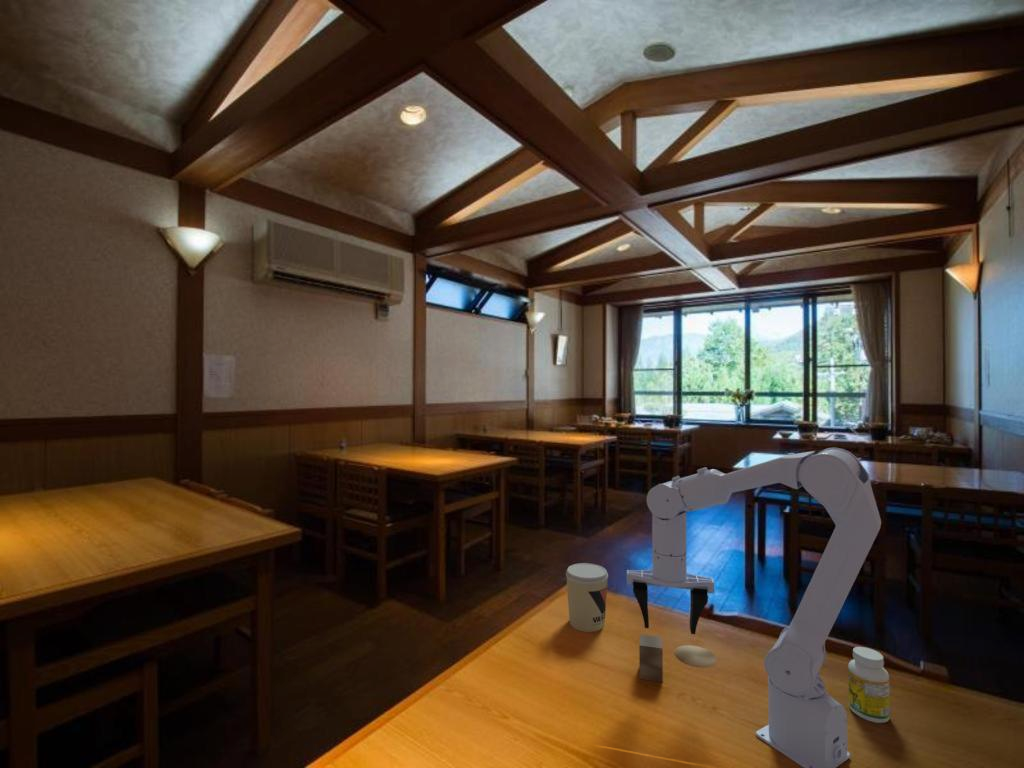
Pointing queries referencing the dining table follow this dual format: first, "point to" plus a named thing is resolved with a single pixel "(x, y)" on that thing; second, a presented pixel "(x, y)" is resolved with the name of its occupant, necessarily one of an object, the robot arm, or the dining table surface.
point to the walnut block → (651, 658)
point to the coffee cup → (587, 596)
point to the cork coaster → (695, 656)
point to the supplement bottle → (868, 685)
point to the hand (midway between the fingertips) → (669, 628)
